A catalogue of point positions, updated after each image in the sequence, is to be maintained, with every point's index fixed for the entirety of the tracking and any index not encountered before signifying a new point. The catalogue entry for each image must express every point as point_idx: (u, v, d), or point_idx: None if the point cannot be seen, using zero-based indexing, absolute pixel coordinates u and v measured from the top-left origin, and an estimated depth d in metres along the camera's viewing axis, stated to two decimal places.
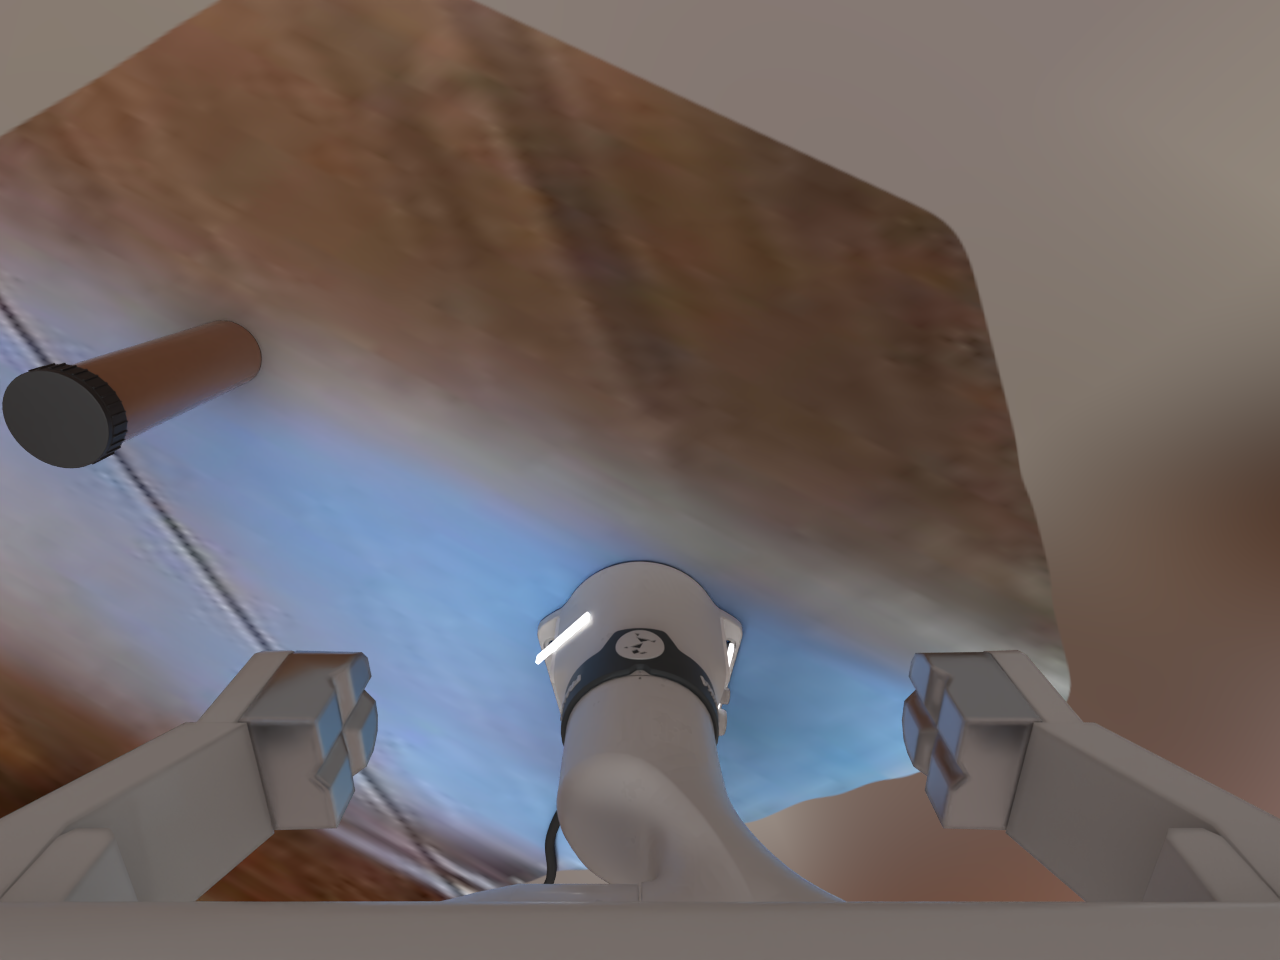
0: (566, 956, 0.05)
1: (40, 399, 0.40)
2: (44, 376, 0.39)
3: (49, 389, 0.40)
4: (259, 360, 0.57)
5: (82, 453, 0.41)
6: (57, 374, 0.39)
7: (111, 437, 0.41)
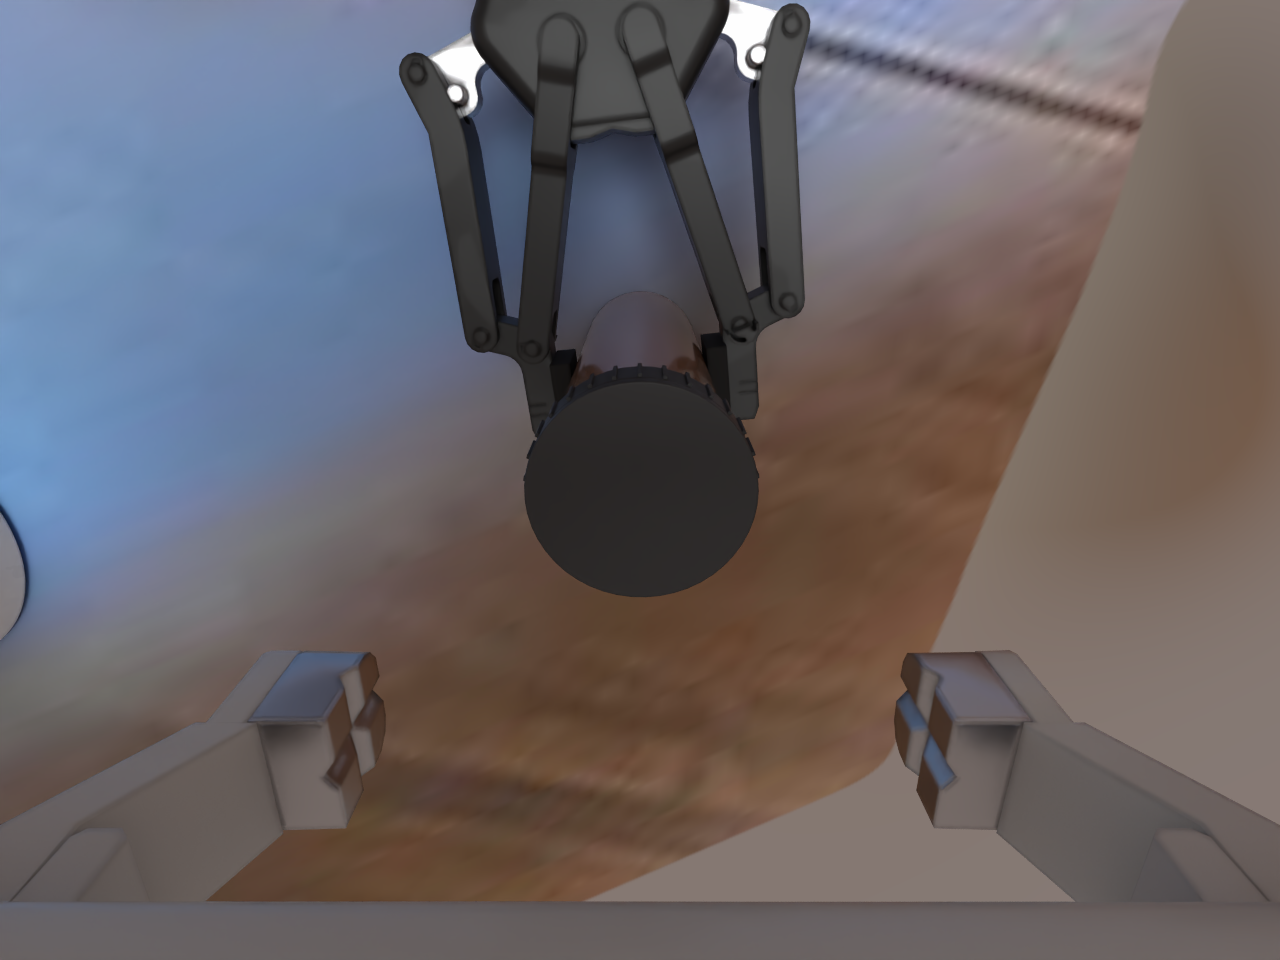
0: (566, 956, 0.05)
1: (693, 509, 0.18)
2: (718, 554, 0.18)
3: (694, 541, 0.18)
4: None
5: (553, 480, 0.17)
6: (703, 578, 0.18)
7: (545, 546, 0.18)
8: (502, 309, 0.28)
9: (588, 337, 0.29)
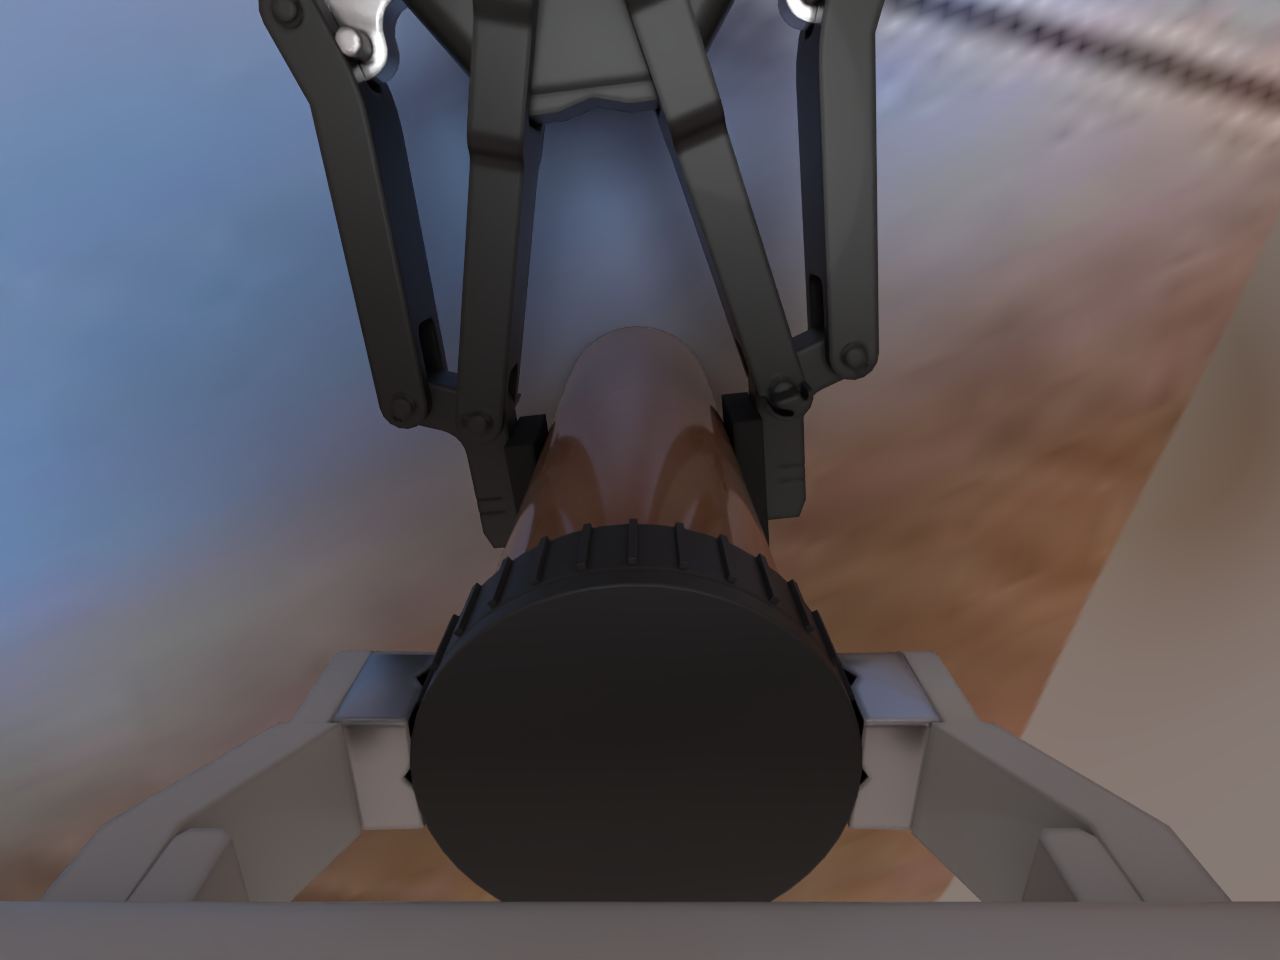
0: (566, 956, 0.05)
1: (735, 801, 0.09)
2: (780, 872, 0.10)
3: (735, 852, 0.10)
4: None
5: (465, 755, 0.09)
6: None
7: (458, 851, 0.10)
8: (439, 361, 0.20)
9: (563, 400, 0.20)
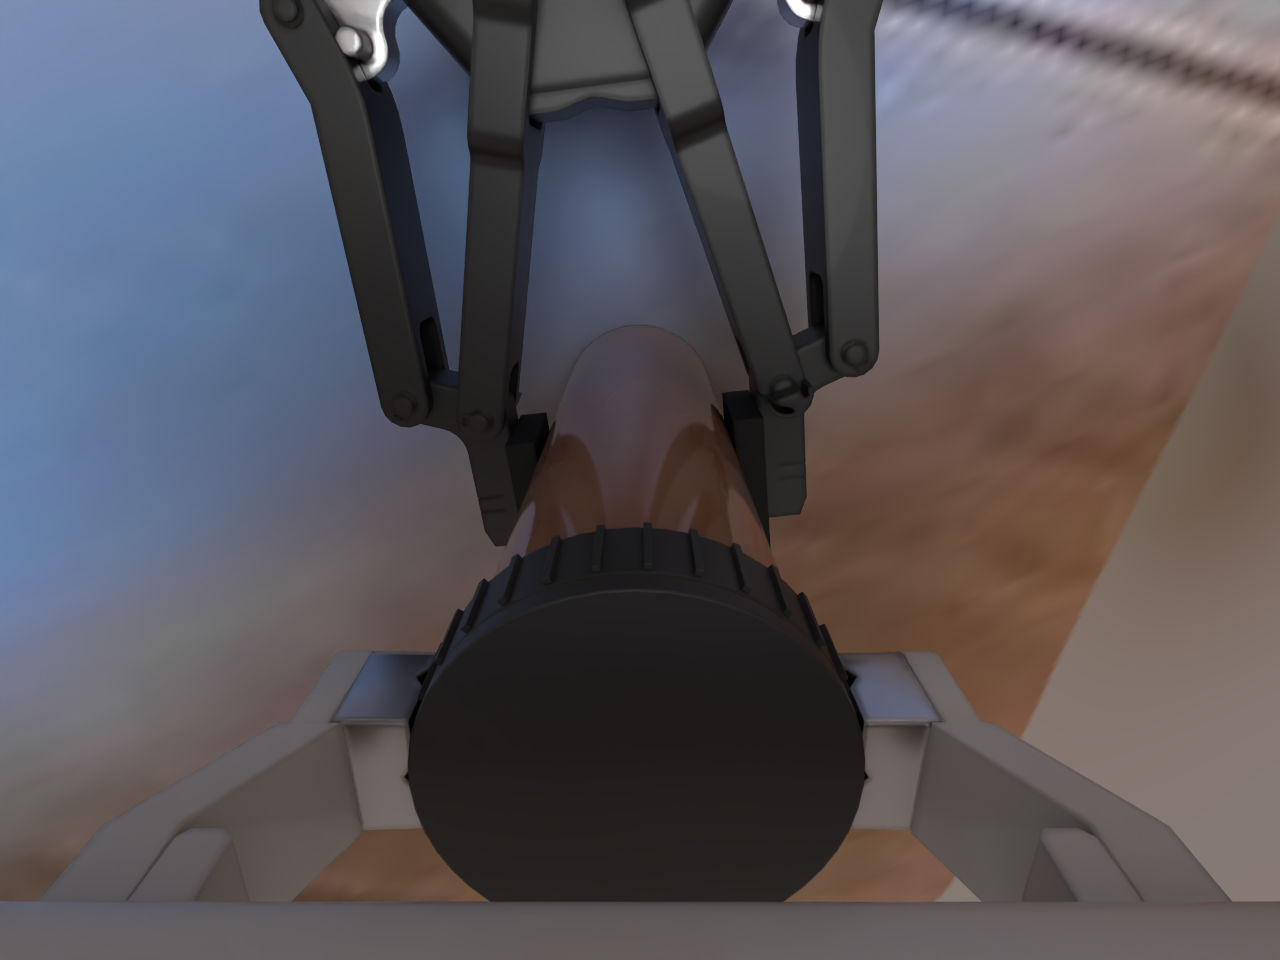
0: (566, 956, 0.05)
1: (682, 709, 0.09)
2: (800, 678, 0.08)
3: (756, 716, 0.09)
4: None
5: None
6: (848, 712, 0.09)
7: None
8: (440, 360, 0.20)
9: (564, 399, 0.20)
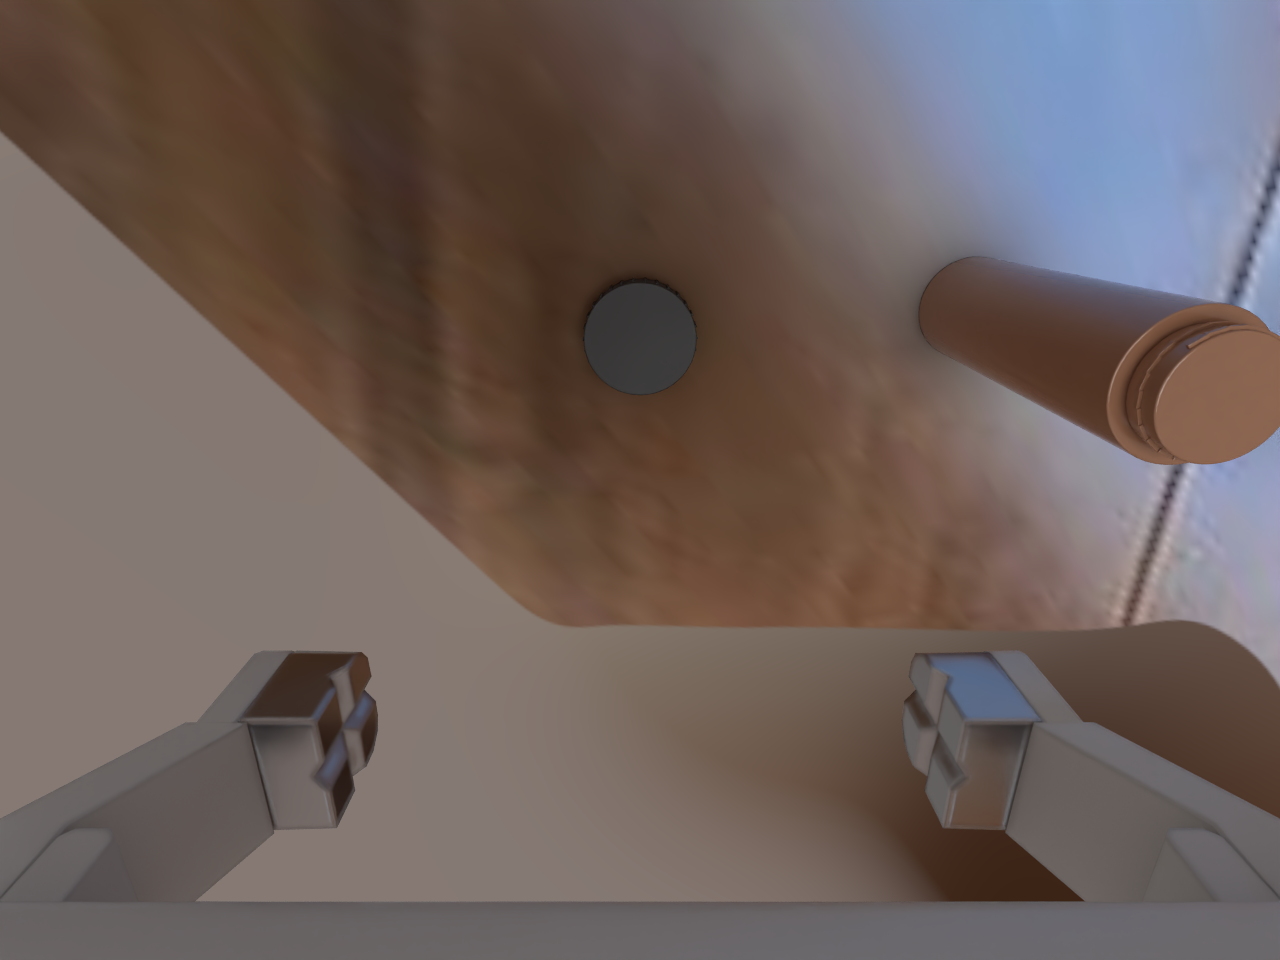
0: (566, 956, 0.05)
1: (663, 328, 0.36)
2: (689, 338, 0.36)
3: (675, 341, 0.37)
4: (936, 278, 0.37)
5: (604, 362, 0.37)
6: (693, 353, 0.37)
7: (624, 391, 0.38)
8: None
9: None
